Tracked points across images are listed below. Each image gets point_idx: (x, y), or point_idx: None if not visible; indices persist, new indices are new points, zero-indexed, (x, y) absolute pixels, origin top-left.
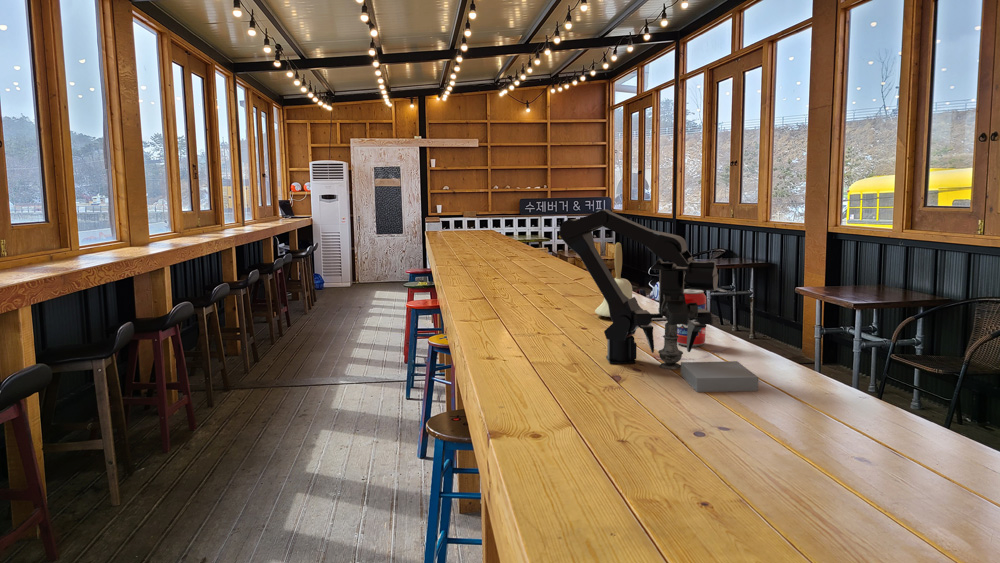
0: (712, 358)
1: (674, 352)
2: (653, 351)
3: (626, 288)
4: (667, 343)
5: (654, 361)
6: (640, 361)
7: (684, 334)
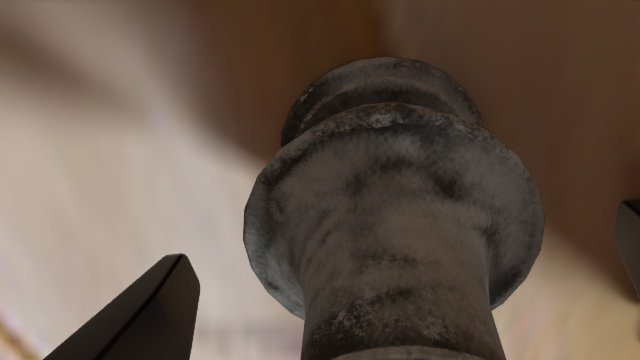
0: None
1: (351, 173)
2: (636, 206)
3: None
4: (464, 293)
5: None
6: (611, 271)
7: None
